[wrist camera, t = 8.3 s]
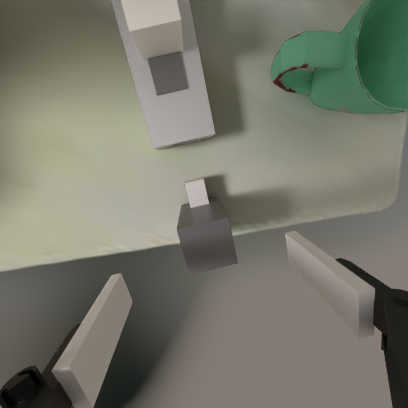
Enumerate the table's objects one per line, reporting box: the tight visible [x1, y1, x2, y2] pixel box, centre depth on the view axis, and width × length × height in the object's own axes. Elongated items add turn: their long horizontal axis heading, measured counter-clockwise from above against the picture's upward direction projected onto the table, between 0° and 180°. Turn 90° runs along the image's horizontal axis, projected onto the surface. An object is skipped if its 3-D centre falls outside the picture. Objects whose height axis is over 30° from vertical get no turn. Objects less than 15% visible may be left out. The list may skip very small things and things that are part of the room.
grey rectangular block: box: [177, 178, 238, 274], centre depth 22 cm, size 5×8×9 cm, turn 13°
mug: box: [271, 0, 408, 114], centre depth 19 cm, size 15×10×10 cm
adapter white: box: [121, 0, 184, 60], centre depth 16 cm, size 4×4×4 cm
